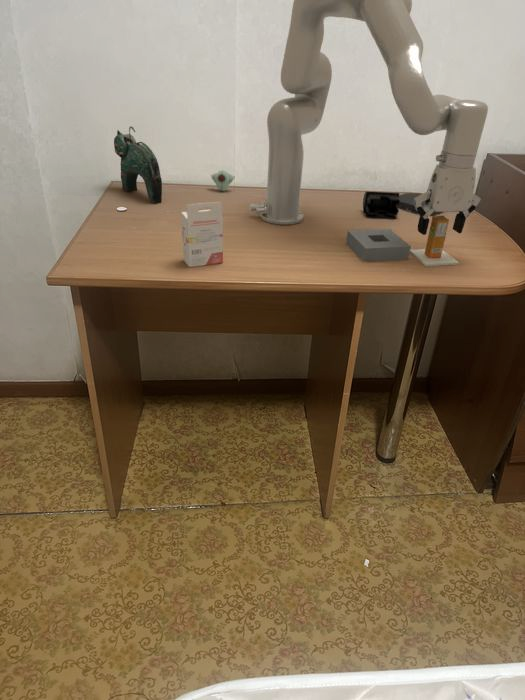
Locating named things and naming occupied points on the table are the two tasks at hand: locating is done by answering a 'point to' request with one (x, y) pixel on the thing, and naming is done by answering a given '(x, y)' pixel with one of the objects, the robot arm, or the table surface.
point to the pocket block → (377, 245)
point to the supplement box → (436, 236)
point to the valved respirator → (222, 179)
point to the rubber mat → (427, 261)
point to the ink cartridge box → (202, 234)
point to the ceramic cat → (138, 166)
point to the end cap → (381, 205)
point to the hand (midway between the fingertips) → (439, 232)
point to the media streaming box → (411, 203)
